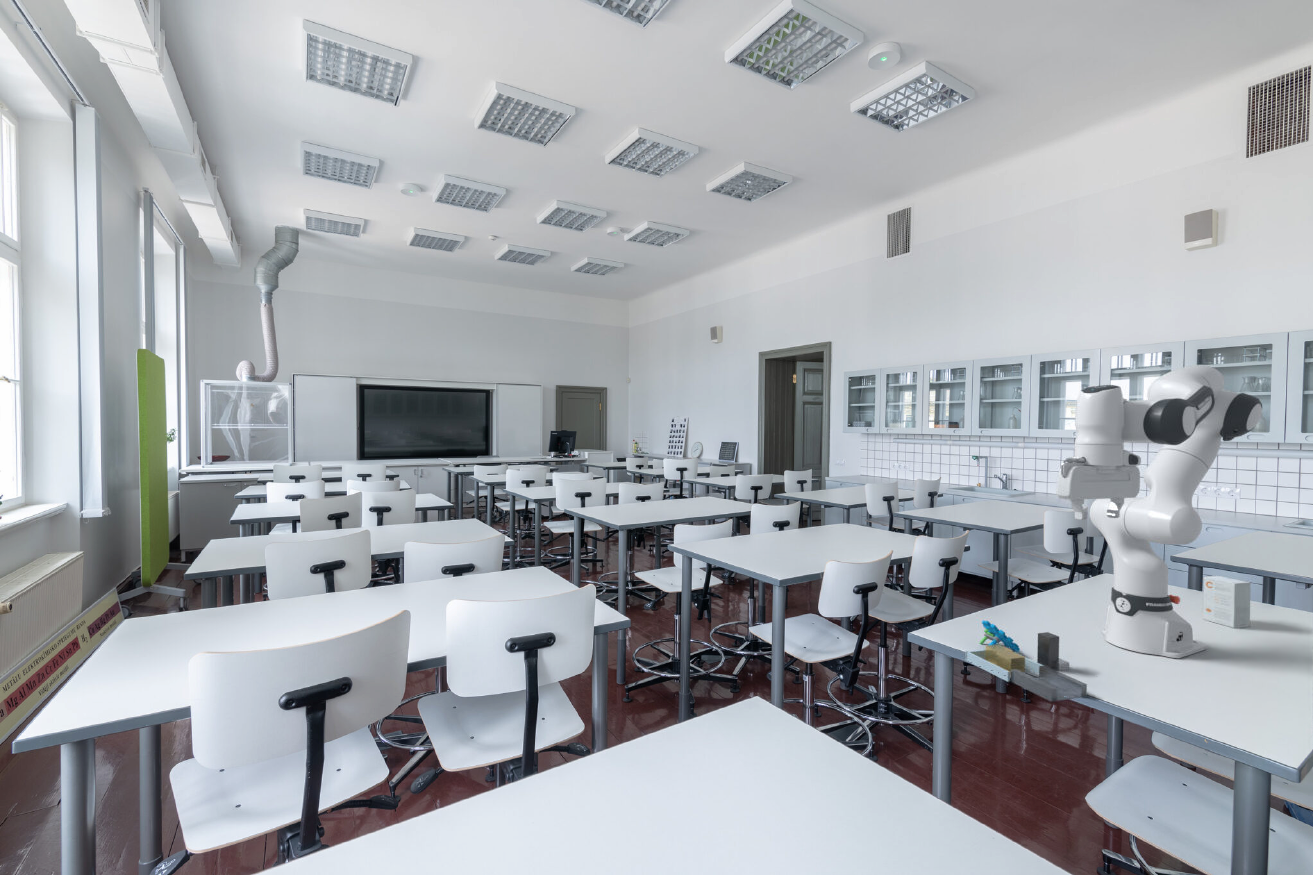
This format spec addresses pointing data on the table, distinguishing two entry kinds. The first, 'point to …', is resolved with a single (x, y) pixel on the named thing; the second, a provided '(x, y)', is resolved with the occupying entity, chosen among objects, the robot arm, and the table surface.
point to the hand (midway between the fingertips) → (1097, 518)
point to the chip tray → (978, 660)
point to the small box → (1226, 601)
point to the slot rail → (1050, 684)
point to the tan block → (994, 652)
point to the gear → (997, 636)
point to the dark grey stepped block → (1050, 652)
